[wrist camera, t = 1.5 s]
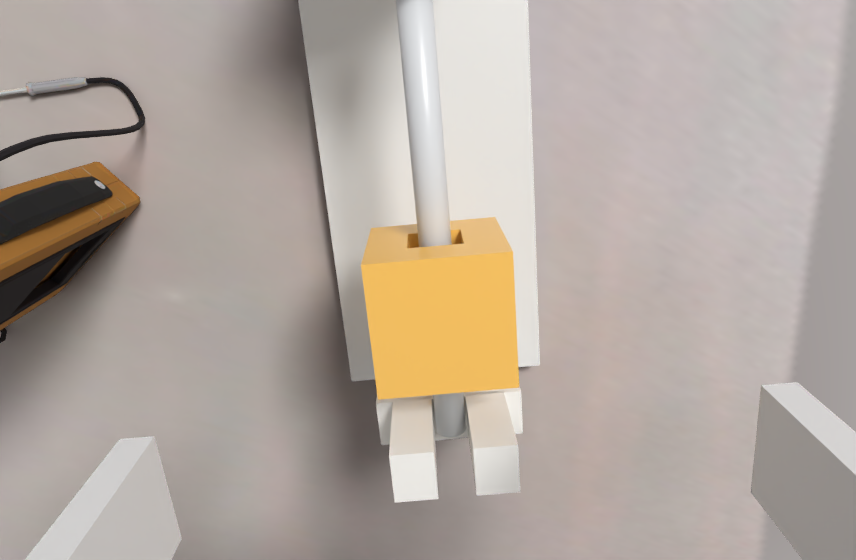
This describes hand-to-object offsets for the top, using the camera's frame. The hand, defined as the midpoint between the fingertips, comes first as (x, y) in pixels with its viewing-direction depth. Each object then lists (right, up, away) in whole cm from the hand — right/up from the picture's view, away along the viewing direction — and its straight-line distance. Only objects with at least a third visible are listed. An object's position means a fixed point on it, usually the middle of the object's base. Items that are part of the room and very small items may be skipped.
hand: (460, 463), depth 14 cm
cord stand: (-1, +11, +17) cm, 20 cm away
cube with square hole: (0, +4, +12) cm, 13 cm away
